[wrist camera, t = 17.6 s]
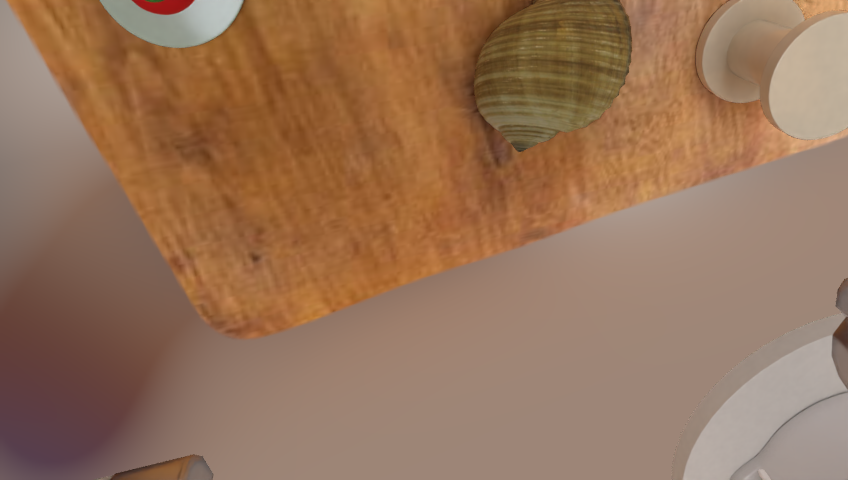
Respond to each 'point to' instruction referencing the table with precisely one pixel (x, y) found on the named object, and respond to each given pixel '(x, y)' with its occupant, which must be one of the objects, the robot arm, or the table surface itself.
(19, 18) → the table surface
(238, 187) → the table surface
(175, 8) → the strawberry
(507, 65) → the seashell
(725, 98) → the stand
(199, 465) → the robot arm
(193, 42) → the plate
